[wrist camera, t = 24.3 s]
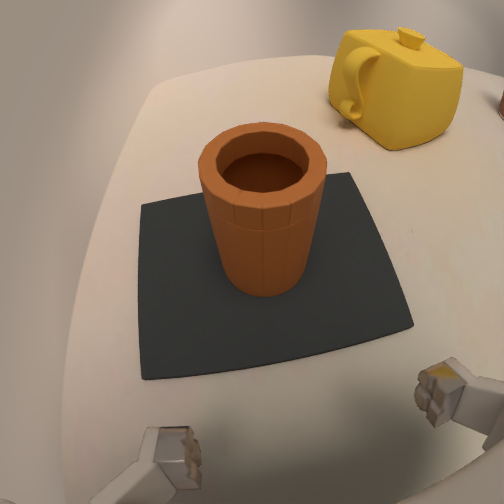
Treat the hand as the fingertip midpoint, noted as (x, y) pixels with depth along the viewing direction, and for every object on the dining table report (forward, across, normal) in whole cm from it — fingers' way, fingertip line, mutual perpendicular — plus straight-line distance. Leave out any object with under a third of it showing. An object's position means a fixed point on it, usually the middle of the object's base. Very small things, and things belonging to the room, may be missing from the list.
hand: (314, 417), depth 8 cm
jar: (+13, 0, +2) cm, 13 cm away
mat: (+13, 0, +2) cm, 13 cm away
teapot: (+25, +20, +14) cm, 35 cm away
